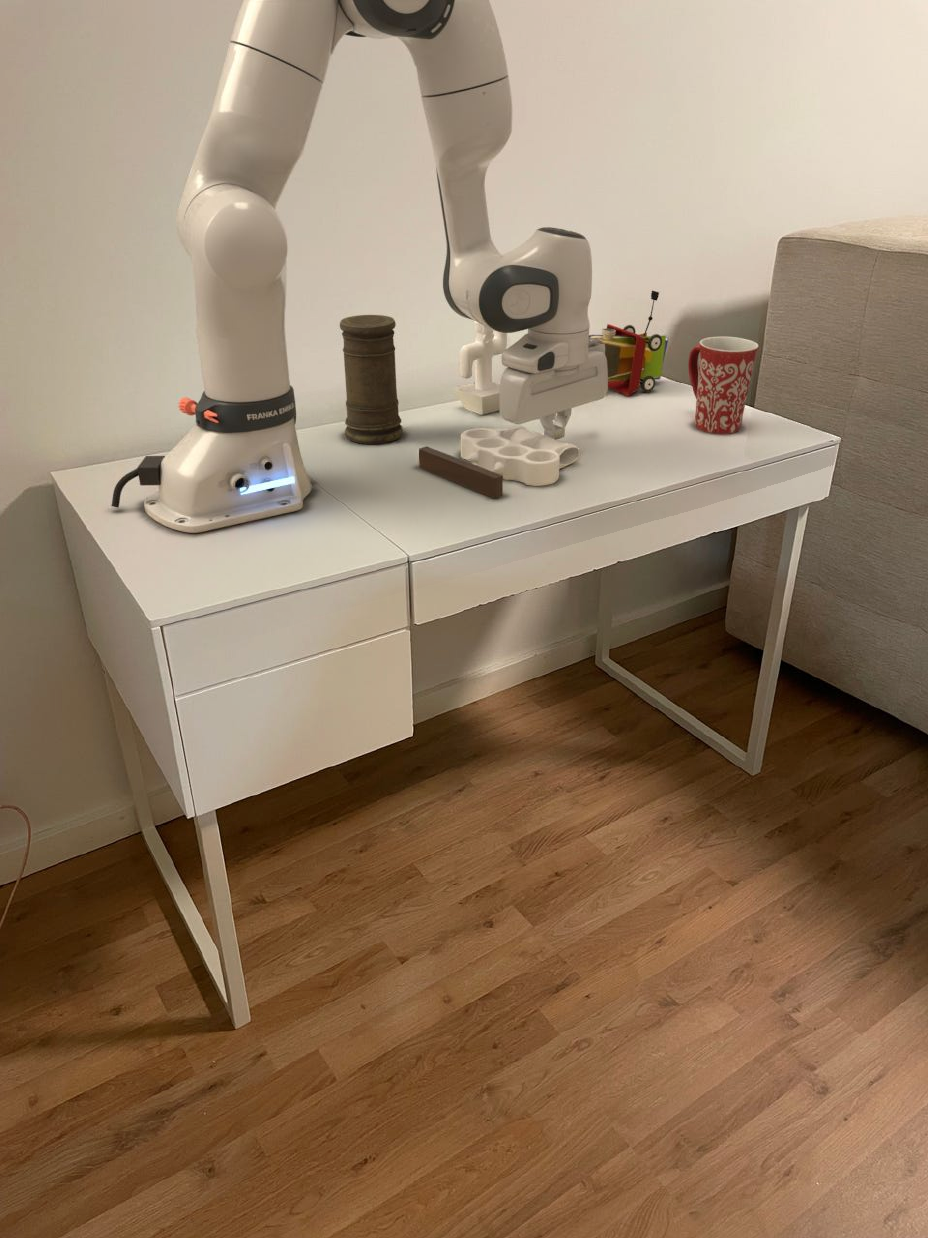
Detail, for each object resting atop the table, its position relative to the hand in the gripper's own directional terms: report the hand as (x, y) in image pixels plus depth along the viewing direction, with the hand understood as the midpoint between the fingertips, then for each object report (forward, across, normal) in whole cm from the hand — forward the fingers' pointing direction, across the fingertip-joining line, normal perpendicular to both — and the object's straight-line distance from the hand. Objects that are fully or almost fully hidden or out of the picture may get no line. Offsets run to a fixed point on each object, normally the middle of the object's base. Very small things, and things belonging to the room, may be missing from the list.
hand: (554, 438), depth 148 cm
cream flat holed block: (+2, +9, +1) cm, 9 cm away
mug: (+2, -28, +9) cm, 29 cm away
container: (+2, +16, -24) cm, 29 cm away
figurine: (+2, -6, -22) cm, 23 cm away
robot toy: (+2, -32, -14) cm, 35 cm away
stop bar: (+2, +20, 0) cm, 20 cm away
